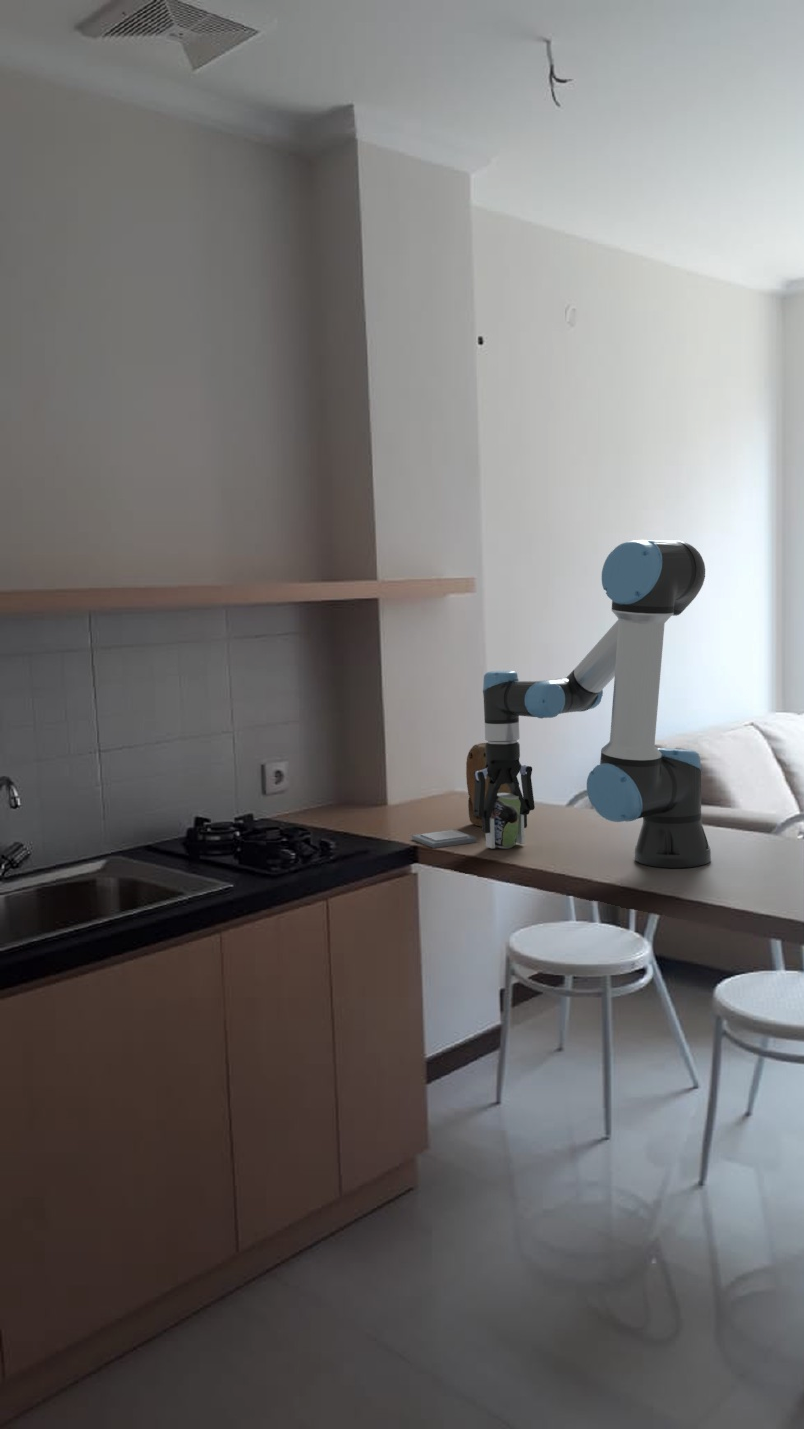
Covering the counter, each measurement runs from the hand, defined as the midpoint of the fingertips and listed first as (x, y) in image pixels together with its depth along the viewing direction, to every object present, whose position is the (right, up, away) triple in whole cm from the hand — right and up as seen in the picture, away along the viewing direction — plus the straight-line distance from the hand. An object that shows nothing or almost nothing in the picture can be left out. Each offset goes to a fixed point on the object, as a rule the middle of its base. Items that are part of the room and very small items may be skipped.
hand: (505, 844), depth 250 cm
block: (-2, +2, +25) cm, 25 cm away
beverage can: (0, -1, 0) cm, 1 cm away
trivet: (-13, 0, +9) cm, 16 cm away
